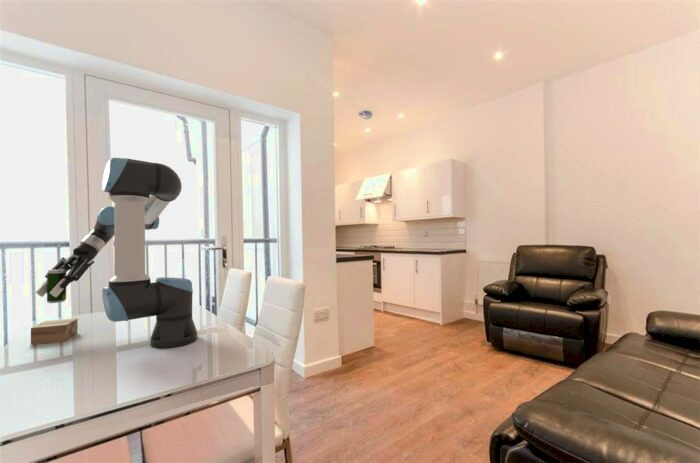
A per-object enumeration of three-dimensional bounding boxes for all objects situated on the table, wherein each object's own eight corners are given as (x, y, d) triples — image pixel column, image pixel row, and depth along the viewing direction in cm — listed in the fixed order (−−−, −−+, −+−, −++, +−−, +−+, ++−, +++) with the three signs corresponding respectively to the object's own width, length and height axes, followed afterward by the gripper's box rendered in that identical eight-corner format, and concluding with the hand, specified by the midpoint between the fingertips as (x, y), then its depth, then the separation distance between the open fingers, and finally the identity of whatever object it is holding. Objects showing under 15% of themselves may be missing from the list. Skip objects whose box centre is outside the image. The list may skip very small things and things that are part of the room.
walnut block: (66, 341, 118) (66, 324, 118) (30, 344, 114) (30, 327, 114) (77, 333, 127) (77, 318, 127) (45, 336, 123) (45, 321, 123)
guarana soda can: (46, 304, 117) (47, 271, 118) (46, 301, 121) (47, 270, 121) (66, 301, 121) (66, 269, 121) (65, 299, 125) (66, 269, 125)
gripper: (113, 254, 135) (74, 301, 119) (76, 254, 138) (32, 300, 121) (102, 241, 130) (59, 289, 114) (63, 242, 133) (16, 288, 116)
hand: (46, 294), depth 118 cm, fingers closed on guarana soda can, 5 cm apart
